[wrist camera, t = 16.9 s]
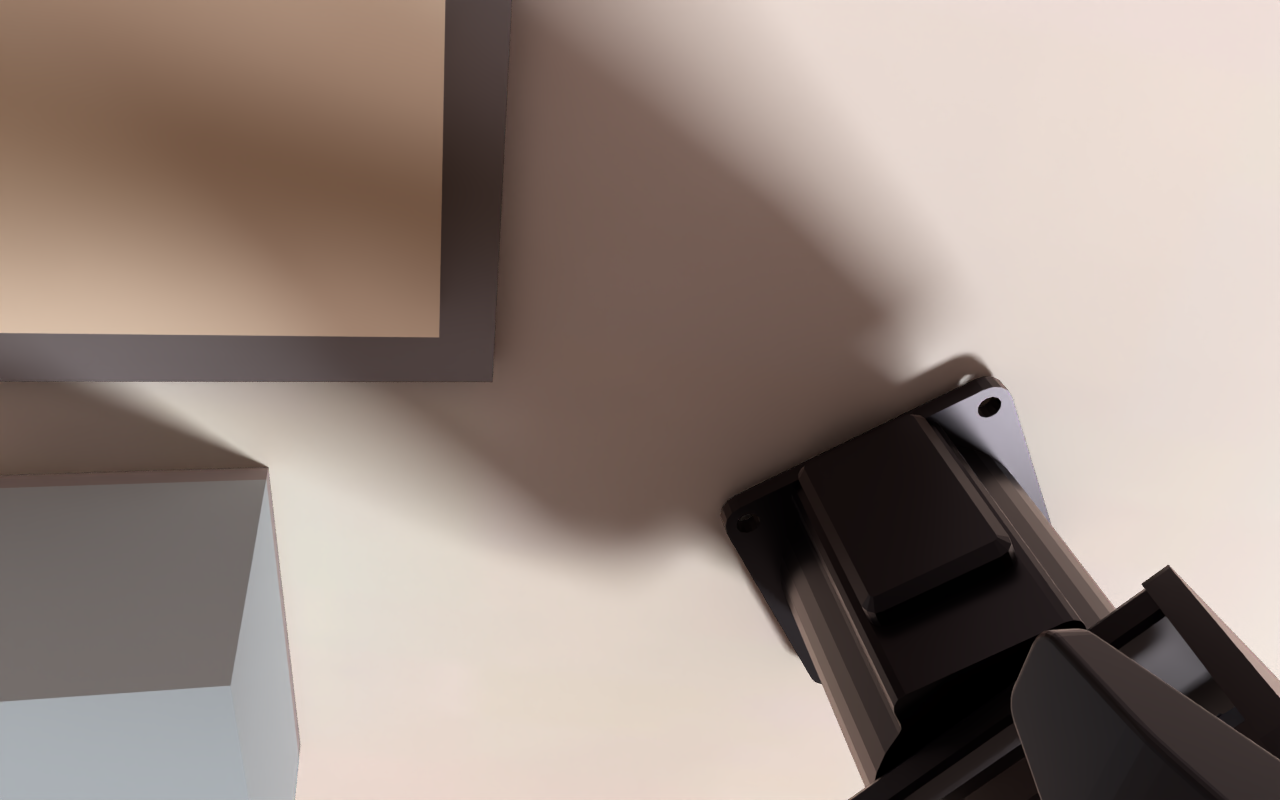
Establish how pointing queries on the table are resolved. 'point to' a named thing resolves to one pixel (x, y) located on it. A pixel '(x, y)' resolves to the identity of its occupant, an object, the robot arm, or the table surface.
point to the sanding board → (251, 189)
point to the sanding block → (144, 638)
